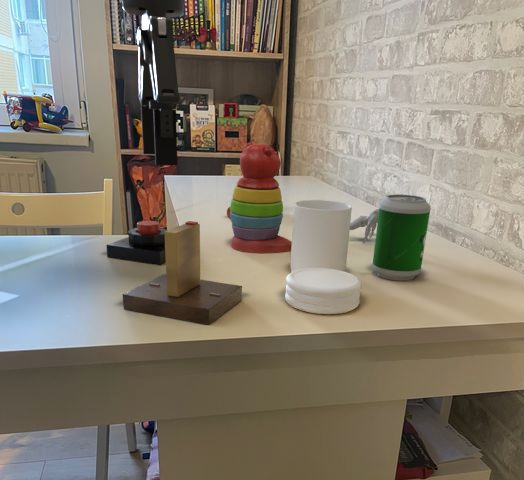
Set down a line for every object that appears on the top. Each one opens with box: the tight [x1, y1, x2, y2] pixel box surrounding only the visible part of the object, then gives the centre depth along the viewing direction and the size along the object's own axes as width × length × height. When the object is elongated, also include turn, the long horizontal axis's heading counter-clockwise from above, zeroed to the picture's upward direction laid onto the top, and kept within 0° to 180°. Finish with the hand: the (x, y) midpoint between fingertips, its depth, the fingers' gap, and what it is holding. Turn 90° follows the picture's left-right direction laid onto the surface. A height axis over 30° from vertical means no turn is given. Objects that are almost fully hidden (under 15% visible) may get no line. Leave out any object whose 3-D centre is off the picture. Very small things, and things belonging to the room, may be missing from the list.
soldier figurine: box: [350, 208, 379, 244], centre depth 109 cm, size 6×5×12 cm
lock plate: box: [122, 273, 243, 326], centre depth 72 cm, size 12×10×2 cm
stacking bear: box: [229, 141, 292, 254], centre depth 98 cm, size 11×10×18 cm
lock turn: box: [165, 220, 201, 297], centre depth 70 cm, size 6×2×8 cm, turn 158°
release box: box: [105, 227, 169, 266], centre depth 93 cm, size 10×10×4 cm
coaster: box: [284, 268, 362, 315], centre depth 75 cm, size 10×10×4 cm
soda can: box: [371, 193, 432, 281], centre depth 86 cm, size 8×8×12 cm
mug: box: [290, 199, 353, 273], centre depth 87 cm, size 9×12×11 cm
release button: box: [136, 220, 161, 234], centre depth 92 cm, size 4×4×2 cm
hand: (159, 159), depth 77 cm, fingers open, 13 cm apart
